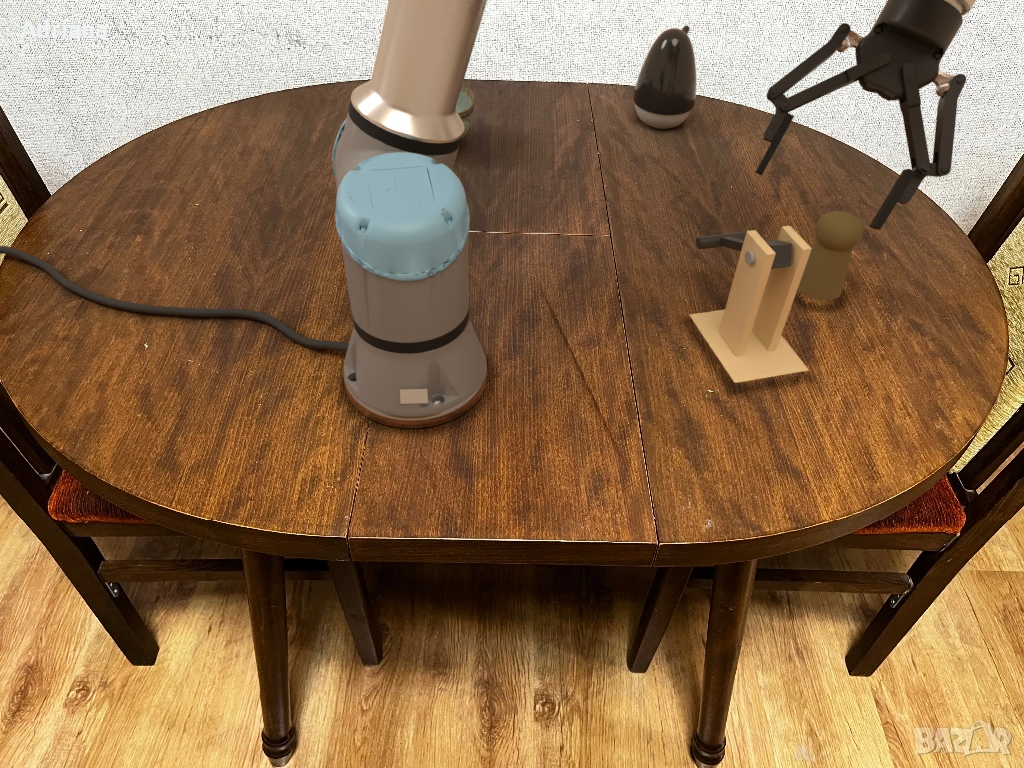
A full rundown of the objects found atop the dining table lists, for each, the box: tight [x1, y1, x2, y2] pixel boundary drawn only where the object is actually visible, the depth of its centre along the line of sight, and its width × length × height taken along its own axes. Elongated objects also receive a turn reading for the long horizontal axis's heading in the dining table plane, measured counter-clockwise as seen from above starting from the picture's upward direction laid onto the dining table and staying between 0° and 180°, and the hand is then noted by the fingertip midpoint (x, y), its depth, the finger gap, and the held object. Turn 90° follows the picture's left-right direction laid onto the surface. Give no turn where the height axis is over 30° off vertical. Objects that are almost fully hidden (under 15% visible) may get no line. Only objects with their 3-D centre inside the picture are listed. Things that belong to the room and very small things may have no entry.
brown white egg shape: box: [632, 25, 697, 130], centre depth 125 cm, size 10×10×15 cm
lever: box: [695, 230, 792, 269], centre depth 84 cm, size 13×6×2 cm, turn 15°
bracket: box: [688, 225, 812, 384], centre depth 83 cm, size 12×9×15 cm
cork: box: [797, 210, 864, 301], centre depth 92 cm, size 6×6×11 cm
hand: (815, 200), depth 83 cm, fingers open, 13 cm apart
